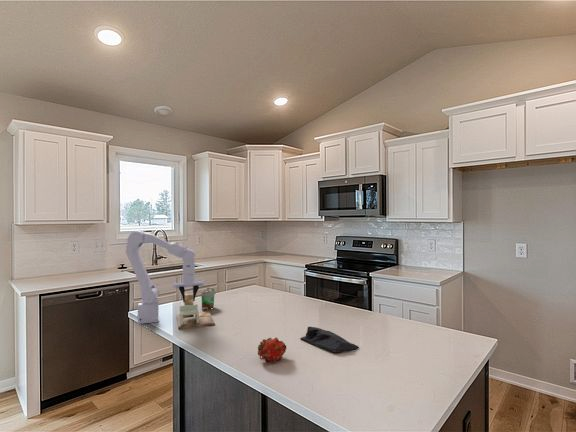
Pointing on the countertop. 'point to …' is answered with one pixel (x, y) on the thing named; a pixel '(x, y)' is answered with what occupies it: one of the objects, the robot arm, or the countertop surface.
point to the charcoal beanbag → (327, 340)
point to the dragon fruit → (271, 349)
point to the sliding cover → (189, 312)
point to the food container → (208, 298)
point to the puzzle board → (204, 320)
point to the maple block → (188, 299)
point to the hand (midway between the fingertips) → (188, 301)
